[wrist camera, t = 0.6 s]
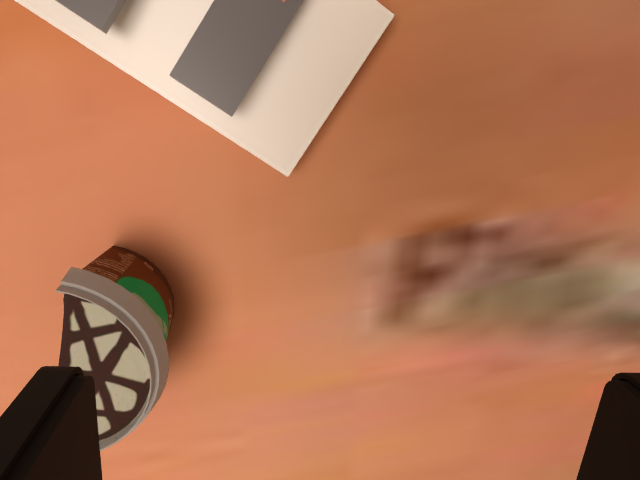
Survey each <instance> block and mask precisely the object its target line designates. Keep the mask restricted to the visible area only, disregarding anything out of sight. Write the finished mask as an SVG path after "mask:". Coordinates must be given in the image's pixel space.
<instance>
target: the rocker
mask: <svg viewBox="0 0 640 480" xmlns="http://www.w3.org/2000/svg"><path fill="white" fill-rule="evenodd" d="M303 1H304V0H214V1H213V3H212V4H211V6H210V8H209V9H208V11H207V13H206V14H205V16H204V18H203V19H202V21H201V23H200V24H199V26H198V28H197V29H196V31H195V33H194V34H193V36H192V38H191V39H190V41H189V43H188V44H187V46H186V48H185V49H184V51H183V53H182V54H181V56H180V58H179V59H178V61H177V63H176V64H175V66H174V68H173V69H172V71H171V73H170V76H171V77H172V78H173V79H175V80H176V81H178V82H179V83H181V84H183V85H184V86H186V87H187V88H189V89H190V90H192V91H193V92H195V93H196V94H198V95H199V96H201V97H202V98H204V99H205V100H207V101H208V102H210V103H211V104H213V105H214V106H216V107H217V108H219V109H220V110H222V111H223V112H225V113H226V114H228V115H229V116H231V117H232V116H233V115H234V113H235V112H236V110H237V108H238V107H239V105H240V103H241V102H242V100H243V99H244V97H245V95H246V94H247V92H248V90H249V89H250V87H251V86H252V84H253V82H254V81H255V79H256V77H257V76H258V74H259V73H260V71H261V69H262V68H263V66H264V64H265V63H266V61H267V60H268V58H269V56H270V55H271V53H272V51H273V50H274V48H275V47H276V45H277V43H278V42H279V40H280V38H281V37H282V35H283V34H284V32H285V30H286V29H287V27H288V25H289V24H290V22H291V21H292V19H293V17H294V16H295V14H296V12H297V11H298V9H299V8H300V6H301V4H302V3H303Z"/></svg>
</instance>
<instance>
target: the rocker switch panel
mask: <svg viewBox="0 0 640 480" xmlns="http://www.w3.org/2000/svg"><path fill="white" fill-rule="evenodd" d="M15 1H16V2H18V3H19V4H21V5H22V6H24V7H25V8H27V9H29V10H30V11H32V12H33V13H35V14H36V15H38V16H39V17H41V18H43V19H44V20H46V21H47V22H49V23H50V24H52V25H53V26H55V27H56V28H58V29H60V30H61V31H63V32H64V33H66V34H67V35H69V36H70V37H72V38H73V39H75V40H77V41H78V42H80V43H81V44H83V45H84V46H86V47H87V48H89V49H90V50H92V51H94V52H95V53H97V54H98V55H100V56H101V57H103V58H104V59H106V60H108V61H109V62H111V63H112V64H114V65H115V66H117V67H118V68H120V69H121V70H123V71H125V72H126V73H128V74H129V75H131V76H132V77H134V78H135V79H137V80H138V81H140V82H142V83H143V84H145V85H146V86H148V87H149V88H151V89H152V90H154V91H156V92H157V93H159V94H160V95H162V96H163V97H165V98H166V99H168V100H169V101H171V102H173V103H174V104H176V105H177V106H179V107H180V108H182V109H183V110H185V111H186V112H188V113H190V114H191V115H193V116H194V117H196V118H197V119H199V120H200V121H202V122H204V123H205V124H207V125H208V126H210V127H211V128H213V129H214V130H216V131H217V132H219V133H221V134H222V135H224V136H225V137H227V138H228V139H230V140H231V141H233V142H234V143H236V144H238V145H239V146H241V147H242V148H244V149H245V150H247V151H248V152H250V153H252V154H253V155H255V156H256V157H258V158H259V159H261V160H262V161H264V162H265V163H267V164H269V165H270V166H272V167H273V168H275V169H276V170H278V171H279V172H281V173H282V174H284V175H286V176H287V177H288V176H289V175H290V173H291V172H292V170H293V169H294V167H295V166H296V164H297V163H298V161H299V160H300V158H301V157H302V155H303V153H304V152H305V150H306V149H307V147H308V146H309V144H310V143H311V141H312V140H313V138H314V137H315V135H316V134H317V132H318V131H319V129H320V128H321V126H322V125H323V123H324V122H325V120H326V119H327V117H328V116H329V114H330V113H331V111H332V109H333V108H334V106H335V105H336V103H337V102H338V100H339V99H340V97H341V96H342V94H343V93H344V91H345V90H346V88H347V87H348V85H349V84H350V82H351V81H352V79H353V78H354V76H355V75H356V73H357V72H358V70H359V68H360V67H361V65H362V64H363V62H364V61H365V59H366V58H367V56H368V55H369V53H370V52H371V50H372V49H373V47H374V46H375V44H376V43H377V41H378V40H379V38H380V37H381V35H382V34H383V32H384V31H385V29H386V28H387V26H388V24H389V23H390V21H391V20H392V18H393V17H394V14H393V13H392V12H390V11H389V10H388V9H387V8H385V7H384V6H383V5H382V4H380V3H379V2H378V1H377V0H304V1H303V3H302V4H301V6H300V8H299V9H298V11H297V12H296V14H295V16H294V17H293V19H292V21H291V22H290V24H289V25H288V27H287V29H286V30H285V32H284V34H283V35H282V37H281V38H280V40H279V42H278V43H277V45H276V47H275V48H274V50H273V51H272V53H271V55H270V56H269V58H268V60H267V61H266V63H265V64H264V66H263V68H262V69H261V71H260V73H259V74H258V76H257V77H256V79H255V81H254V82H253V84H252V86H251V87H250V89H249V90H248V92H247V94H246V95H245V97H244V99H243V100H242V102H241V103H240V105H239V107H238V108H237V110H236V112H235V113H234V115H233V116H232V117H231V116H229V115H228V114H226V113H225V112H223V111H222V110H220V109H219V108H217V107H216V106H214V105H213V104H211V103H210V102H208V101H207V100H205V99H204V98H202V97H201V96H199V95H198V94H196V93H195V92H193V91H192V90H190V89H189V88H187V87H186V86H184V85H183V84H181V83H179V82H178V81H176V80H175V79H173V78H172V77H171V76H170V73H171V71H172V69H173V68H174V66H175V64H176V63H177V61H178V59H179V58H180V56H181V54H182V53H183V51H184V49H185V48H186V46H187V44H188V43H189V41H190V39H191V38H192V36H193V34H194V33H195V31H196V29H197V28H198V26H199V24H200V23H201V21H202V19H203V18H204V16H205V14H206V13H207V11H208V9H209V8H210V6H211V4H212V3H213V1H214V0H126V2H125V3H124V5H123V7H122V8H121V10H120V12H119V14H118V15H117V17H116V19H115V20H114V22H113V24H112V26H111V27H110V29H109V31H108V32H107V34H105V33H104V32H102V31H101V30H99V29H98V28H96V27H95V26H93V25H92V24H90V23H89V22H87V21H86V20H84V19H83V18H81V17H80V16H78V15H76V14H75V13H73V12H72V11H70V10H69V9H67V8H66V7H64V6H63V5H61V4H60V3H58V2H57V1H55V0H15Z"/></svg>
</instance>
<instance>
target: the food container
mask: <svg viewBox="0 0 640 480" xmlns="http://www.w3.org/2000/svg"><path fill="white" fill-rule="evenodd" d="M56 292H60V293H65V294H64V299H63V300H64V318H63V331H62V341H61V350H60V358H59V366H69V367H80V368H82V371H83V374H84V376H92V377H93V379H94V384H95V396H96V408H97V421H98V433H99V445H100V451H102V450H104V449H106V448H108V447H110V446H112V445H114V444H116V443H117V442H118V441H120V440H121V439H123V438H124V437H125V436H127V435H128V434H129V433H131V432H132V431H133V430H134V429H135V428H136V427H137V426H138V425H139V424H140V423H141V422H142V421H143V420H144V419H145V417H146V416H147V415H148V414H149V412H150V411H151V410H152V408H153V407H154V405H155V404H156V403H157V401H158V400H159V398H160V396H161V394H162V392H163V390H164V387H165V385H166V381H167V377H168V371H169V356H168V349H167V344H166V341H167V337H168V333H169V329H170V326H171V322H172V318H173V314H174V299H173V294H172V291H171V288H170V285H169V283H168V282H167V280H166V278H165V277H164V275H163V274H162V273H161V271H160V270H159V269H158V268H157V267H156V266H155V265H154V264H153V263H151V262H150V261H149V260H147V259H146V258H144V257H143V256H141V255H139V254H137V253H135V252H133V251H130V250H127V249H125V248H120V247H116V246H112V247H111V248H110V249H108V250H107V251H106V252H104V253H103V254H102V255H100V256H99V257H98V258H96V259H95V260H94V261H92V262H91V263H90V264H88V265H87V266H86V267H84V268H83V269H78V268H74V267H71V269H70V270H69V271H68V273H67V274H66V275H65V277H64V278H63V279H62V281H61V285H60V286H59V287H58V289H57V290H56Z"/></svg>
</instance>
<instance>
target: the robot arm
mask: <svg viewBox="0 0 640 480" xmlns="http://www.w3.org/2000/svg"><path fill="white" fill-rule="evenodd" d="M0 480H102V470H101V458H100V445H99V433H98V421H97V408H96V396H95V384H94V379H93V377H92V376H84V374H83V371H82V368H80V367H69V366H44V367H41V368H40V369H39V370H38V371H37V372H36V374H35V375H34V376H33V377H32V378H31V380H30V381H29V382H28V383H27V385H26V386H25V387H24V388H23V390H22V391H21V392H20V393H19V395H18V396H17V397H16V398H15V400H14V401H13V402H12V403H11V404H10V406H9V407H8V408H7V409H6V411H5V412H4V413H3V414H2V416H1V417H0ZM576 480H640V373H618V374H616V375H615V376H614V377H613V378H612V380H611V381H609V382H608V383H607V384H606V385H605V387H604V390H603V394H602V397H601V400H600V403H599V407H598V410H597V413H596V417H595V420H594V423H593V427H592V430H591V433H590V436H589V440H588V443H587V446H586V450H585V453H584V456H583V460H582V463H581V466H580V469H579V473H578V476H577V479H576Z"/></svg>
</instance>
